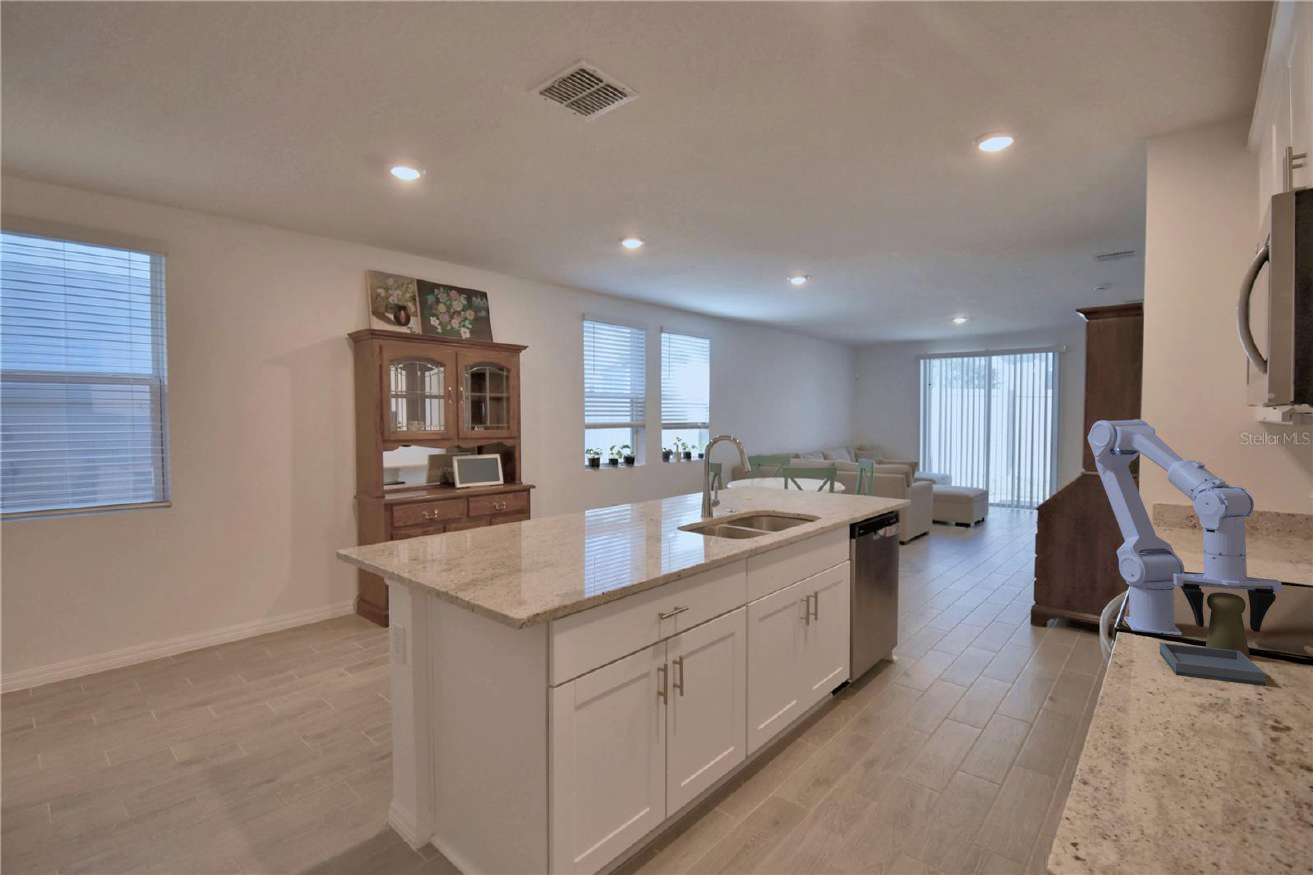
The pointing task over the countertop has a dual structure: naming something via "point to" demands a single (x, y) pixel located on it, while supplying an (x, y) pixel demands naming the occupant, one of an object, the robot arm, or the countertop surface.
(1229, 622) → the cork
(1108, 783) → the countertop surface
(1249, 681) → the tray
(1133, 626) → the robot arm
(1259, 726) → the countertop surface
